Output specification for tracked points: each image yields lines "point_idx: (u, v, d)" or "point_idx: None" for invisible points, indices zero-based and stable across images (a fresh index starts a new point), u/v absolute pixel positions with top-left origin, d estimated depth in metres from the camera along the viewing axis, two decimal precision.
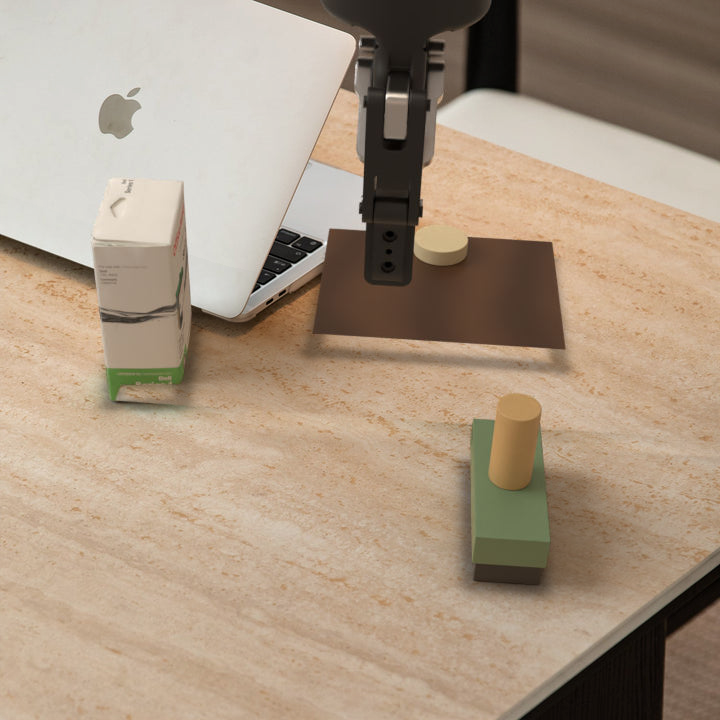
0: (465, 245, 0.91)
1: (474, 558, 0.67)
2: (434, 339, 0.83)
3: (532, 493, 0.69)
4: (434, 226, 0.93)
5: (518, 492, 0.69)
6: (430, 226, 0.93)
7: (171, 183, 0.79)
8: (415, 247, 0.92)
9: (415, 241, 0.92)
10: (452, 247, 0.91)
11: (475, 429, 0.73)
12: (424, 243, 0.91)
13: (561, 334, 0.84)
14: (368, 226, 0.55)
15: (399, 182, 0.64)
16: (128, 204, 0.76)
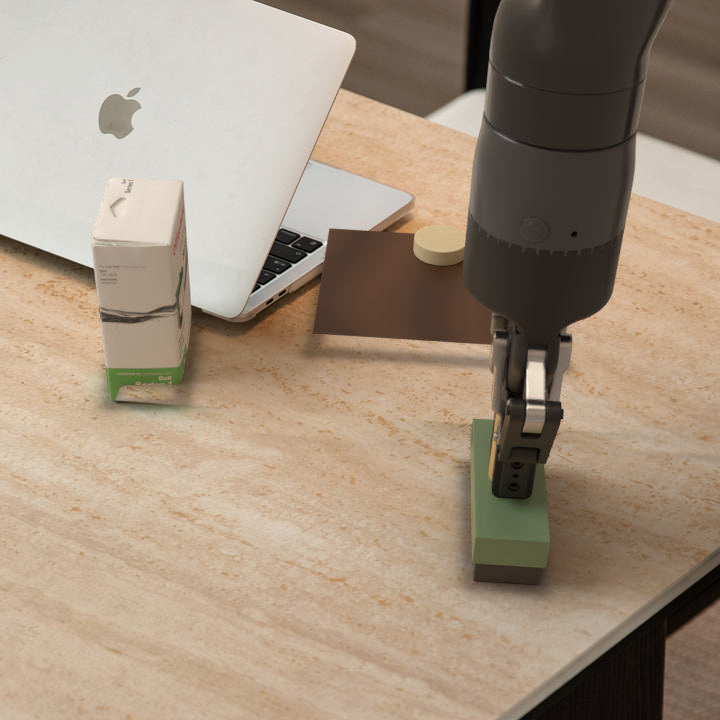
0: None
1: (474, 558, 0.67)
2: (434, 339, 0.83)
3: (532, 493, 0.68)
4: (434, 226, 0.93)
5: None
6: (430, 226, 0.93)
7: (171, 183, 0.79)
8: (415, 247, 0.92)
9: (415, 241, 0.92)
10: (452, 247, 0.91)
11: (475, 429, 0.73)
12: (424, 243, 0.91)
13: None
14: (498, 454, 0.66)
15: None
16: (128, 204, 0.76)
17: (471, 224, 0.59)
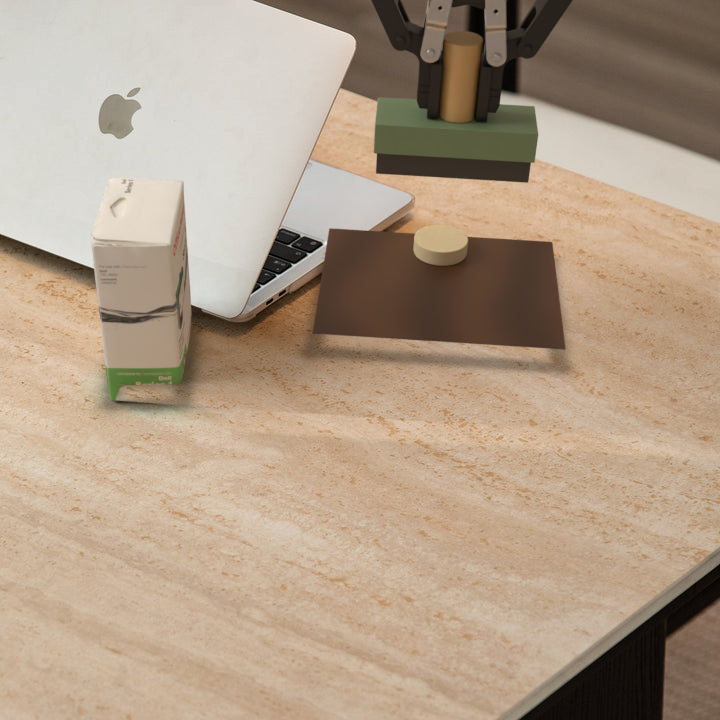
0: (465, 245, 0.91)
1: None
2: (434, 339, 0.83)
3: (435, 122, 0.77)
4: (434, 226, 0.93)
5: None
6: (430, 226, 0.93)
7: (171, 183, 0.79)
8: (415, 247, 0.92)
9: (415, 241, 0.92)
10: (452, 247, 0.91)
11: (517, 105, 0.79)
12: (424, 243, 0.91)
13: (561, 334, 0.84)
14: None
15: None
16: (128, 204, 0.76)
17: None
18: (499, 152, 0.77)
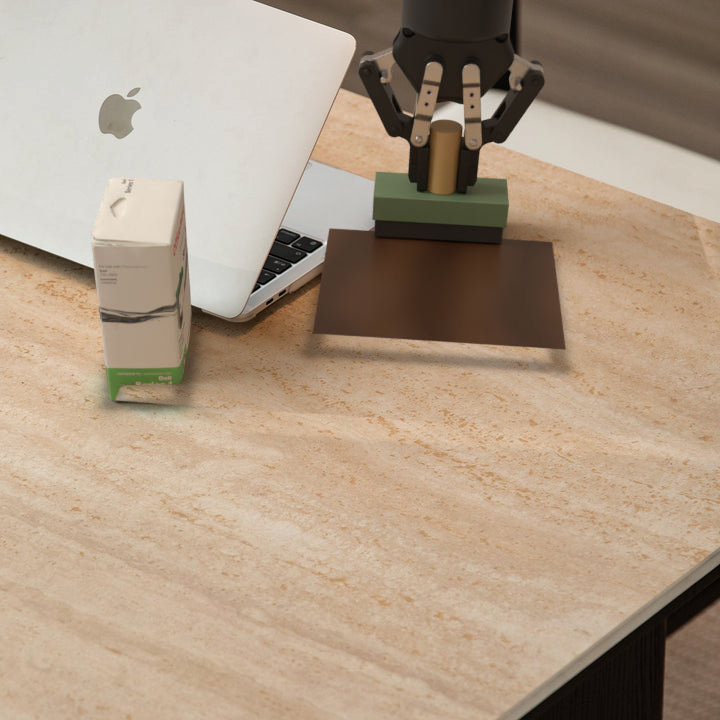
0: None
1: None
2: (434, 339, 0.83)
3: (423, 194, 0.92)
4: None
5: None
6: None
7: (171, 183, 0.79)
8: None
9: None
10: None
11: (492, 178, 0.94)
12: None
13: (561, 334, 0.84)
14: None
15: None
16: (128, 204, 0.76)
17: None
18: (477, 219, 0.92)
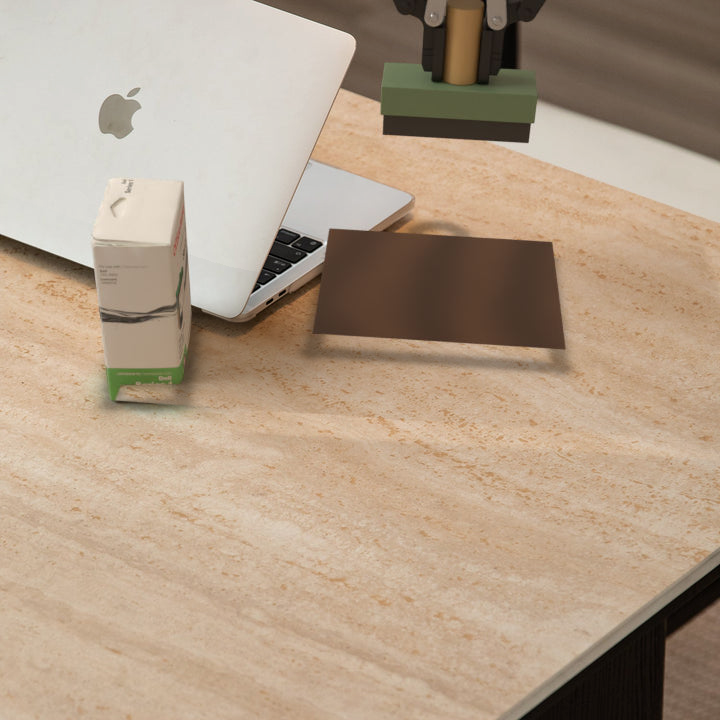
0: None
1: None
2: (434, 339, 0.83)
3: (439, 84, 0.80)
4: None
5: None
6: None
7: (171, 183, 0.79)
8: None
9: None
10: None
11: None
12: None
13: (561, 334, 0.84)
14: None
15: None
16: (128, 204, 0.76)
17: None
18: (501, 113, 0.80)
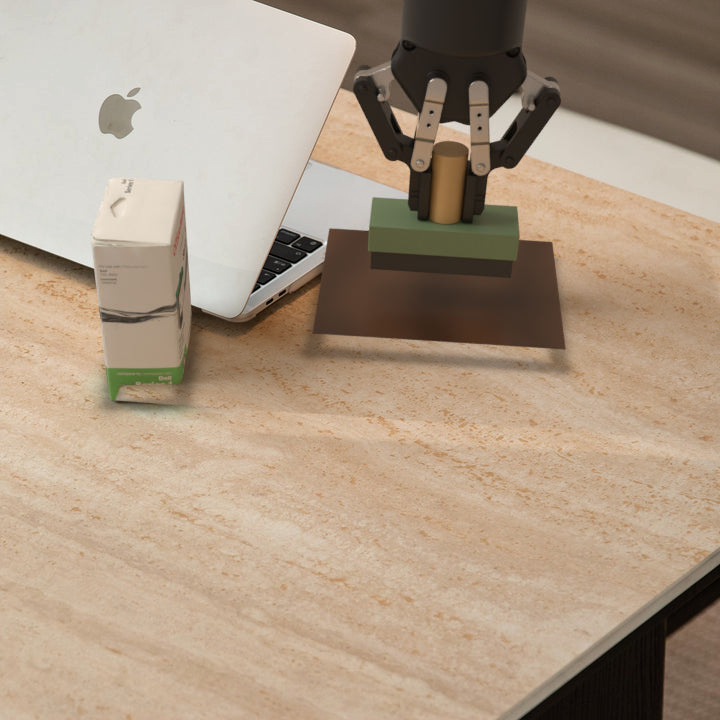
0: None
1: None
2: (434, 339, 0.83)
3: (425, 223, 0.83)
4: None
5: None
6: None
7: (171, 183, 0.79)
8: None
9: None
10: None
11: (501, 205, 0.85)
12: None
13: (561, 334, 0.84)
14: None
15: None
16: (128, 204, 0.76)
17: None
18: (484, 251, 0.83)
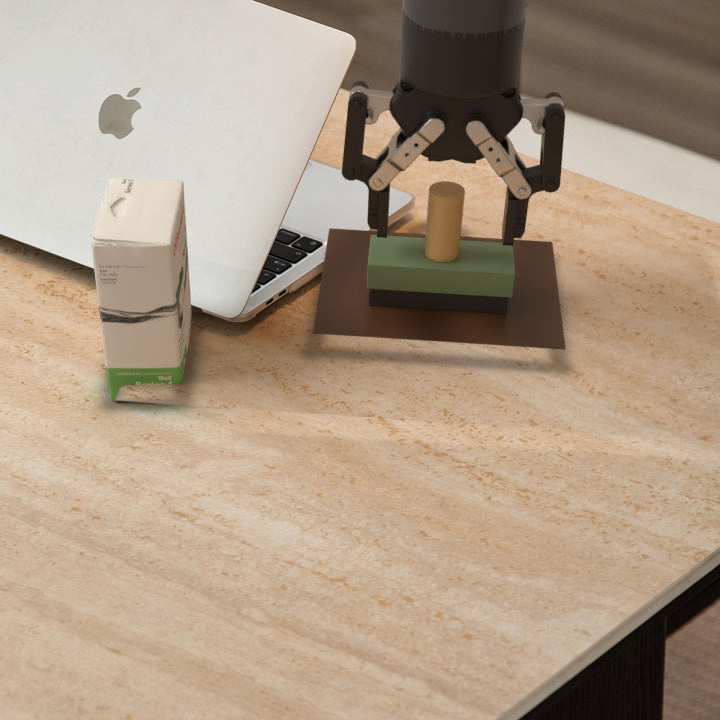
0: None
1: None
2: (434, 339, 0.83)
3: (422, 261, 0.85)
4: None
5: (422, 255, 0.85)
6: None
7: (171, 183, 0.79)
8: None
9: None
10: None
11: (497, 243, 0.87)
12: None
13: (561, 334, 0.84)
14: None
15: (503, 230, 0.84)
16: (128, 204, 0.76)
17: None
18: (480, 289, 0.85)
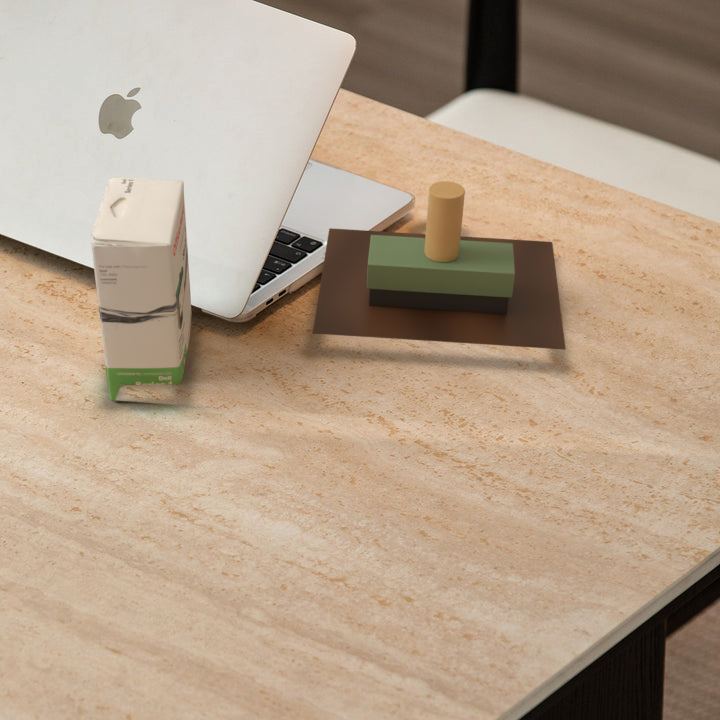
0: None
1: None
2: (434, 339, 0.83)
3: (422, 261, 0.85)
4: None
5: (422, 255, 0.85)
6: None
7: (171, 183, 0.79)
8: None
9: None
10: None
11: (497, 243, 0.87)
12: None
13: (561, 334, 0.84)
14: None
15: None
16: (128, 204, 0.76)
17: None
18: (480, 289, 0.85)
